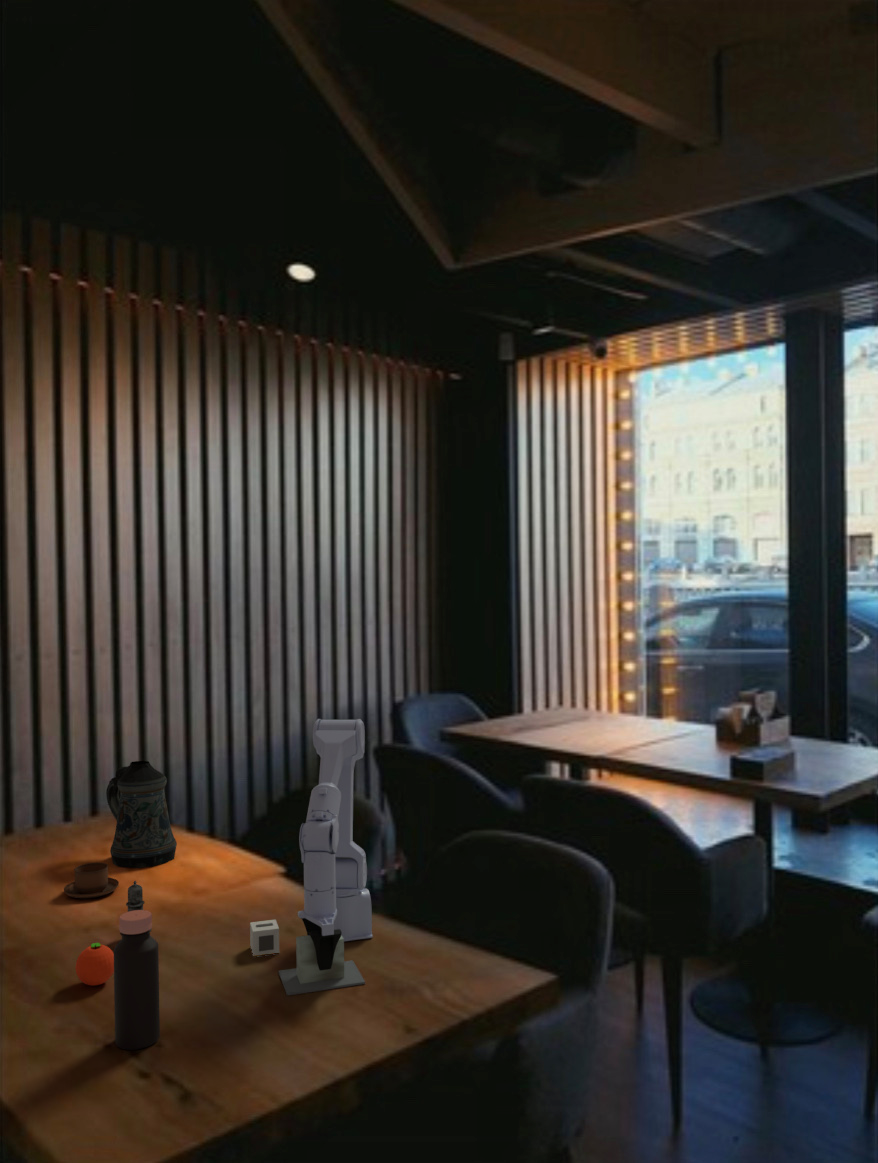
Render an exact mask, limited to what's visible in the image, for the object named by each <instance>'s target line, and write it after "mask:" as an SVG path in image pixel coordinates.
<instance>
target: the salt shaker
mask: <svg viewBox="0 0 878 1163" xmlns="http://www.w3.org/2000/svg"><path fill="white" fill-rule="evenodd" d="M132 883H133V884H131V885H130V886H129V887H128V888H127V902H126V903H125V906H126V907H127V912H129V911H134V910H144V904H145V900H144V899H143V895H144V894H143V893H144V890H143V886H142V885H140V884H137V883H138V882H137V881H136V880H133V882H132Z"/></svg>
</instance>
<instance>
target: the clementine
mask: <svg viewBox="0 0 878 1163" xmlns="http://www.w3.org/2000/svg"><path fill="white" fill-rule="evenodd" d="M74 969H75V974H76V976H77V977H78V980H80V981H81V982H82V984H85V985H86V986H87V985H88V986H92V987H93V986H94V987H95V986H99V985H102V984H104V983H106V982H107V981H108V980H110V979H111V977H112V976H113V975H114V950H112V949H111V948H110V947H109V946H107V945H105V944H101V943H100V942H95V943H91V945H90V946H87V947H86V948H85V949H83V950H82V951H81V953H80V954H79V955H78V957H77V959H76V962H75V968H74Z"/></svg>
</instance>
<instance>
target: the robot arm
mask: <svg viewBox="0 0 878 1163" xmlns="http://www.w3.org/2000/svg"><path fill="white" fill-rule="evenodd" d="M365 735H366V733H365V724H364V721H362V719H361V718H357V719H321V718H317V719H316V721H315V722H314V723H313V727H312V742H313V743H312V745H313V747H314V749H315V751H316V755H319V757H320V761H319V762H320V763H319V764H320V765H319V775H318V785H317V784H316V786H314V787H313V789H311V793H310V796H309V803H308V808H307V815H306V820H305V823H304V822H302V823H301V825H300V828H299V834H298V835H299V838H298V840H299V841H298V842H299V849H300V855H301V863H302V864H303V889H304V892H303V898H304V899H303V901H304V904H303V906H304V907H303V910H299V911H298V912H297V916H298V918H299V919H301V921H302V922H303V925H304V928H305V931H306V936H307V935H310V937H311V939H312V941H313V943H314V947H315V951H316V957H317V963H318V967H319V970H320V971H321V970H328V969H331V967H332V963H333V958H334V953H335V949H336V946H337V943H338V941H339V939H340V937H341V935H342V937H343V939H344V942H350V941H351V942H352V941H357V940H366V939H372V938H373V933H372V932H373V929H372V928H373V926H372V925H373V921H372V916H373V915H372V899H371V898H372V897H371V894H370V891H369V889H368V888H366V884H367V878H368V877H367V876H368V866H367V856H366V852H365V850H364V849H363V848H362V847H361V846H360V845H359V844H357V843H356V842H355V841H353V832H354V831H353V828H354V827H353V825H354V823H353V822H354V774H355V773H354V770H355V765H356V761H359V760H360V759H363V758H364V754H365V746H366V745H365V744H366V740H365V739H366V736H365Z"/></svg>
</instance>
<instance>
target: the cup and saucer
mask: <svg viewBox="0 0 878 1163" xmlns="http://www.w3.org/2000/svg"><path fill="white" fill-rule="evenodd" d="M119 883H120V881H119V880H118V879H115V878H113V877H109V865H108V864H107V863H104V862H89V863H83V864H81V865H78V866H76V867H75V868H74V881H73V882H70V883H68V884H66V885H65V886H64V888H63V891H64V894H66V895H67V896H69V897H72V898H74V899H94V898H98V897H103V896H106V895H108V894H109V895H110V893H112V892H114V891H116V890H117V888H118V887H119Z"/></svg>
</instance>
